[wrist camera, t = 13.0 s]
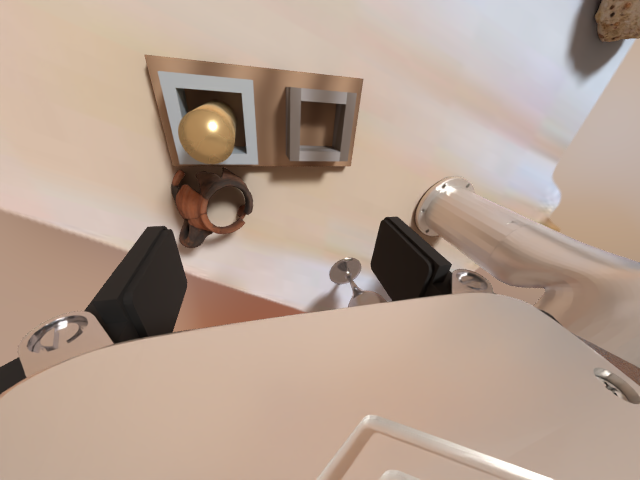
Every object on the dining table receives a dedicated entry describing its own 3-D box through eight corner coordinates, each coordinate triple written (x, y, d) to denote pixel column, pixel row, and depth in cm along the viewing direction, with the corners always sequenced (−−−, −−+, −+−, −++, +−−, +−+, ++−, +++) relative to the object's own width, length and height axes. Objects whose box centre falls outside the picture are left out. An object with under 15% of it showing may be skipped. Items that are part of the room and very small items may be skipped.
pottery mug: (178, 144, 30) (208, 160, 26) (239, 173, 38) (270, 189, 33) (145, 228, 32) (168, 258, 27) (210, 239, 39) (236, 263, 35)
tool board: (358, 79, 31) (375, 78, 27) (347, 163, 37) (359, 173, 33) (149, 56, 25) (131, 50, 21) (175, 162, 31) (165, 174, 27)
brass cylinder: (234, 101, 27) (230, 110, 18) (238, 138, 30) (237, 164, 20) (197, 99, 26) (171, 107, 17) (204, 137, 29) (185, 164, 19)
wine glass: (324, 263, 47) (353, 325, 35) (361, 251, 48) (402, 307, 36) (330, 289, 52) (357, 352, 40) (364, 278, 53) (400, 336, 41)
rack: (251, 80, 27) (252, 80, 24) (256, 156, 31) (258, 164, 28) (168, 72, 25) (157, 70, 21) (186, 155, 29) (179, 164, 26)
